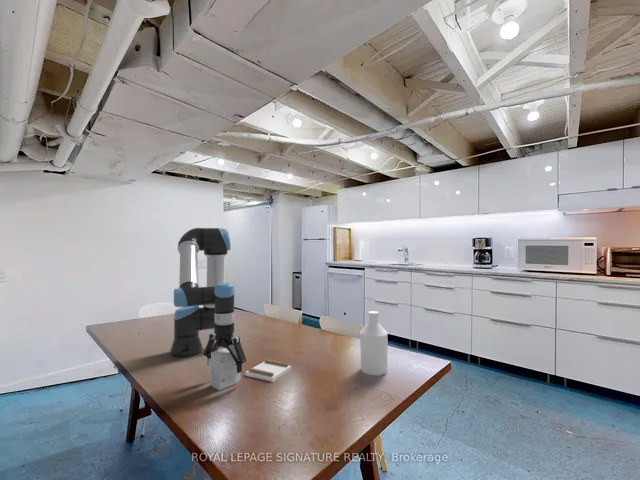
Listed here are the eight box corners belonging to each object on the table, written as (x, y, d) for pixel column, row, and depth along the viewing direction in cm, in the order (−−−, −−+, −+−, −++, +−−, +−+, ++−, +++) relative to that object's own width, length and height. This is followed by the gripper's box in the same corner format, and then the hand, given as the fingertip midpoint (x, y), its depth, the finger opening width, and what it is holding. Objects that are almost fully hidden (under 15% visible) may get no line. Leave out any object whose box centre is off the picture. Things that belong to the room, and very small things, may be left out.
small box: (228, 378, 121) (228, 346, 122) (237, 383, 117) (237, 350, 118) (210, 385, 115) (210, 352, 116) (219, 390, 111) (219, 355, 112)
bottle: (389, 366, 133) (388, 310, 134) (386, 377, 122) (385, 316, 122) (363, 363, 137) (362, 308, 137) (358, 373, 125) (357, 314, 126)
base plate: (245, 375, 124) (245, 369, 124) (265, 363, 137) (265, 358, 137) (272, 382, 118) (272, 375, 118) (291, 369, 131) (291, 363, 131)
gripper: (194, 321, 119) (194, 375, 119) (242, 328, 108) (242, 387, 107) (208, 317, 126) (208, 368, 125) (255, 324, 115) (255, 379, 114)
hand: (224, 377), depth 116 cm, fingers open, 13 cm apart
